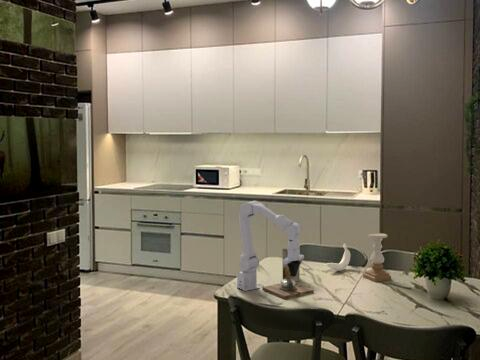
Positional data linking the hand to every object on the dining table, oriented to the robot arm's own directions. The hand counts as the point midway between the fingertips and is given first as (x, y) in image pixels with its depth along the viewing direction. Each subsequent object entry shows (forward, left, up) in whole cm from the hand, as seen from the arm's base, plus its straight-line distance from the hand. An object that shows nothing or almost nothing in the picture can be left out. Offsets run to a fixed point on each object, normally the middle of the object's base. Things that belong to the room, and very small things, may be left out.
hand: (293, 276), depth 251 cm
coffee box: (+17, +22, -10) cm, 30 cm away
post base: (+2, +6, -9) cm, 12 cm away
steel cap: (0, +4, -7) cm, 8 cm away
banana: (+51, +21, -10) cm, 56 cm away
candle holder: (+56, -3, -10) cm, 57 cm away
